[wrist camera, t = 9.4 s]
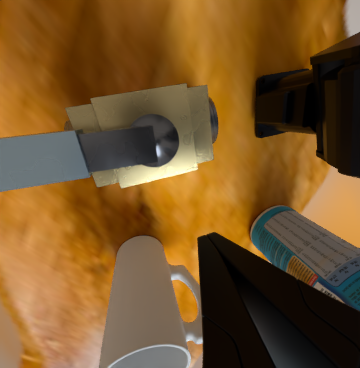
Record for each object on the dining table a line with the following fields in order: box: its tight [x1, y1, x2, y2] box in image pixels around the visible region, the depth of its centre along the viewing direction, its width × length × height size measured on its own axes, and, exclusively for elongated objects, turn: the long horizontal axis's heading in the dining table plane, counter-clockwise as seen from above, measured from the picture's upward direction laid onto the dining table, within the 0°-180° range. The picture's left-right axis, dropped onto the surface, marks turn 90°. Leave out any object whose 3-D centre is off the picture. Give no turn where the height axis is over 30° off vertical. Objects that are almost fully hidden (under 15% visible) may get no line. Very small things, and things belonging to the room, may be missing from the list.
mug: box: [99, 236, 203, 368], centre depth 18 cm, size 10×7×12 cm, turn 81°
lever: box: [0, 114, 179, 192], centre depth 10 cm, size 3×11×2 cm, turn 96°
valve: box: [64, 83, 218, 188], centre depth 15 cm, size 12×6×6 cm, turn 100°
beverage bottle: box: [250, 205, 360, 311], centre depth 18 cm, size 8×8×20 cm
